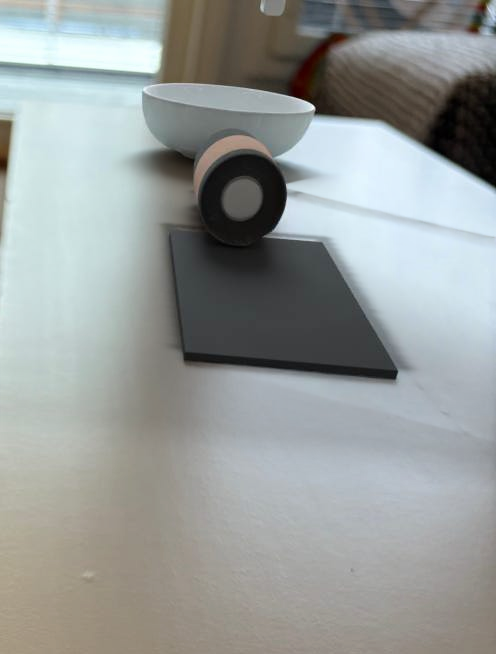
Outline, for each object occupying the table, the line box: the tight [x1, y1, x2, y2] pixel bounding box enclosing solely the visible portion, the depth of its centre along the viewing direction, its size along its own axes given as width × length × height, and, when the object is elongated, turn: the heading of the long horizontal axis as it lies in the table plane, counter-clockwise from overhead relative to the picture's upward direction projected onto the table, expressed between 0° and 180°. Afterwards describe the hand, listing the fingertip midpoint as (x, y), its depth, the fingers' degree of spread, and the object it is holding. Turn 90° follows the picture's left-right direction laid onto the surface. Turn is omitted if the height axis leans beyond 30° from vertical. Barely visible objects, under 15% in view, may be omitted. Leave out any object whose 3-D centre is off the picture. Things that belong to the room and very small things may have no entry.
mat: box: [168, 229, 399, 380], centre depth 77 cm, size 32×14×1 cm, turn 174°
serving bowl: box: [141, 82, 316, 161], centre depth 120 cm, size 21×21×7 cm
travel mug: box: [192, 128, 288, 246], centre depth 92 cm, size 8×8×20 cm
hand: (270, 14), depth 88 cm, fingers closed
